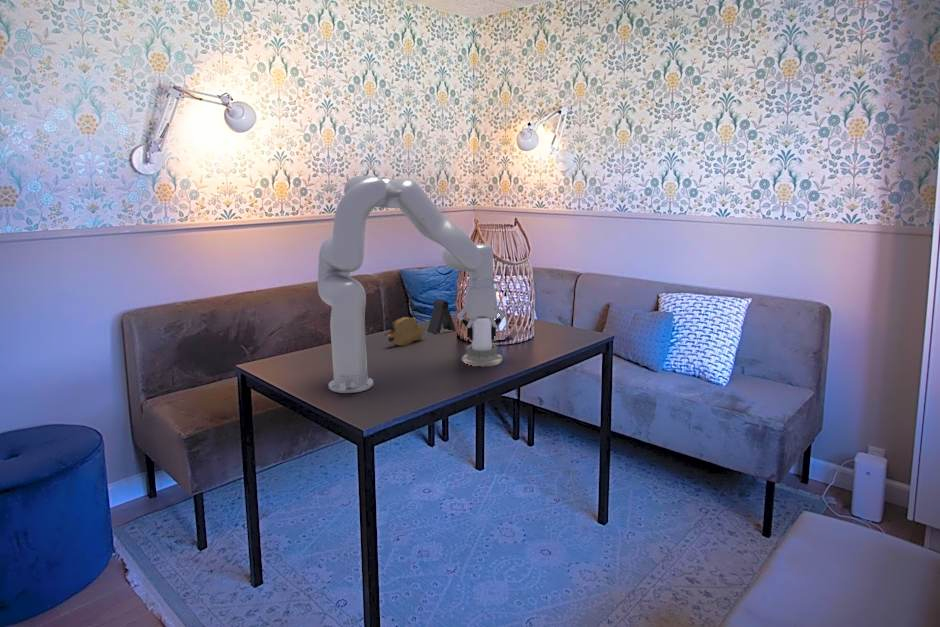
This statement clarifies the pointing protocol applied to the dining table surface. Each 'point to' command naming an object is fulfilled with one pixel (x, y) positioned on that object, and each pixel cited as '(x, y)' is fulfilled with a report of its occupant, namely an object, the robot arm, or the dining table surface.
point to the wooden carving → (404, 331)
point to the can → (481, 334)
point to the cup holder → (482, 357)
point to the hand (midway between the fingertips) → (481, 338)
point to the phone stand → (440, 317)
